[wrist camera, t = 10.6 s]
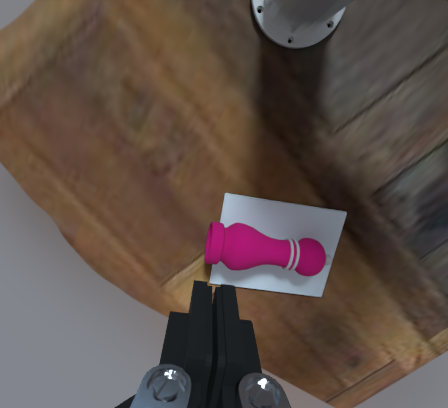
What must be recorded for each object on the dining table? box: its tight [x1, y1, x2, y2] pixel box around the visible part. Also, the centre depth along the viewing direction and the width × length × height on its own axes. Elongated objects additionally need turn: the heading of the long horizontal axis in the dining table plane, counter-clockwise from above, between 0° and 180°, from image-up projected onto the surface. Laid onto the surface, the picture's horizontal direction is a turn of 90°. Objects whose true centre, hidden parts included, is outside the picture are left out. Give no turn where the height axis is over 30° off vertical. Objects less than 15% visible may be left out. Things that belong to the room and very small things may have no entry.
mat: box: [209, 193, 347, 297], centre depth 50 cm, size 16×20×1 cm
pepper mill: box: [205, 222, 332, 276], centre depth 46 cm, size 7×7×20 cm
